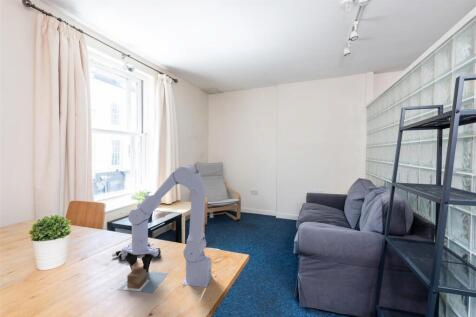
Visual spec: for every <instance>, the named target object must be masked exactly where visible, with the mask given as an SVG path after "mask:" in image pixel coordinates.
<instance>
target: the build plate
mask: <svg viewBox="0 0 476 317" xmlns="http://www.w3.org/2000/svg"><path fill="white" fill-rule="evenodd" d="M155 249H159V254H158V255H157V256H153V258H152V260H156V259H157V260H158V259H161V255H162V251H161V247H157V248H155Z"/></svg>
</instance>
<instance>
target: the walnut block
mask: <svg viewBox="0 0 476 317" xmlns="http://www.w3.org/2000/svg"><path fill="white" fill-rule="evenodd" d="M126 276H127V278H126V280H127V281H126V282H127V288H135V289H140V287H141V286H142V285H143V284H144V283H145V282H146V269H134V270H133V271H132V272H131V271H130V272H129V273H128V274H127V275H126Z"/></svg>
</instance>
